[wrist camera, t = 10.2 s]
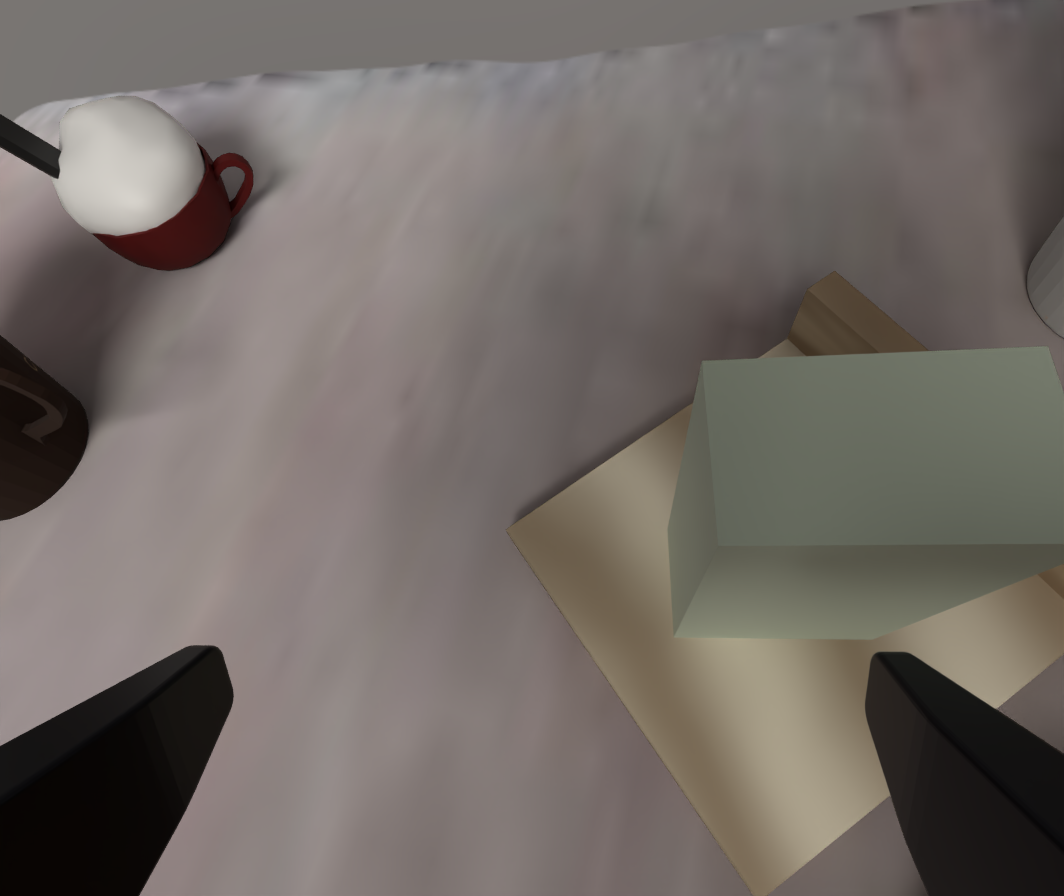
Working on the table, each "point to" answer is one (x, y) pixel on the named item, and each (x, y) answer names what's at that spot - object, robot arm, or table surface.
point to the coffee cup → (1049, 281)
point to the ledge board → (761, 640)
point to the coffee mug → (35, 433)
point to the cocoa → (136, 180)
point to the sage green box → (863, 490)
